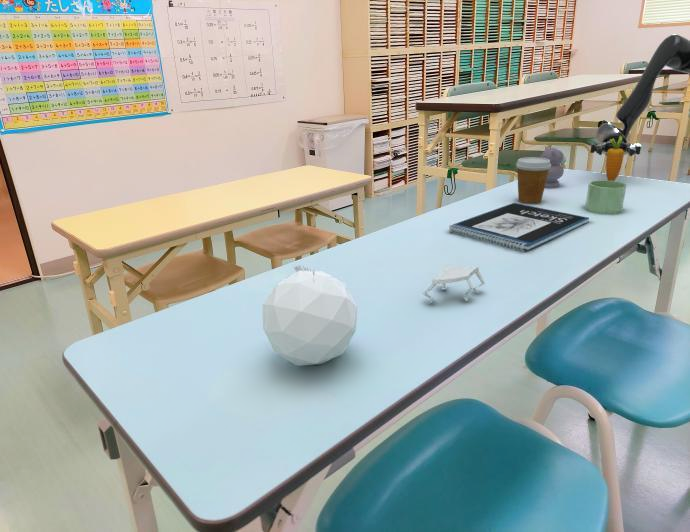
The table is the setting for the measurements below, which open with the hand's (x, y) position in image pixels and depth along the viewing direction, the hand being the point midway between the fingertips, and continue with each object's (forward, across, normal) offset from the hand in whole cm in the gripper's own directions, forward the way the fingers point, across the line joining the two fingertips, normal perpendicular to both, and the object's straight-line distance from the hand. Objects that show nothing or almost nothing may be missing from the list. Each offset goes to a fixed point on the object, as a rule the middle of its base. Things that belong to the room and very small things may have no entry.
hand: (616, 152), depth 160 cm
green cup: (+28, -3, +10) cm, 30 cm away
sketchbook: (+50, -23, +11) cm, 56 cm away
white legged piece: (+95, -31, +11) cm, 100 cm away
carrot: (-1, 0, +11) cm, 11 cm away
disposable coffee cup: (+25, -22, +11) cm, 35 cm away
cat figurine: (+4, -18, +11) cm, 22 cm away
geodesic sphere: (+121, -46, +11) cm, 130 cm away
